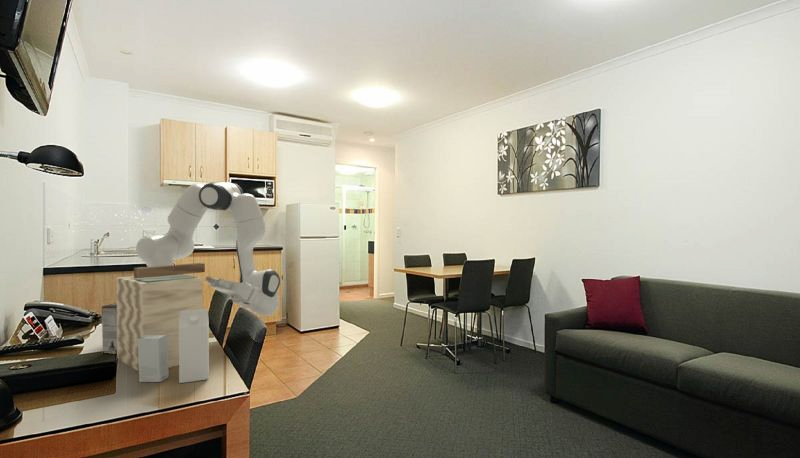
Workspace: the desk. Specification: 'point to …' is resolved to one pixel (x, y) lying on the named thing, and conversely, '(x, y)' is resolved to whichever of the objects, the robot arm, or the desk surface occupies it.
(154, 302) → the birch stand
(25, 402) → the desk surface
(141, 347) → the skincare box
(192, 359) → the milk carton
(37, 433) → the desk surface
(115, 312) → the coffee box
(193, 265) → the walnut bar
